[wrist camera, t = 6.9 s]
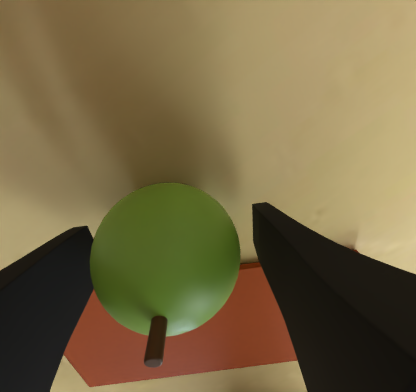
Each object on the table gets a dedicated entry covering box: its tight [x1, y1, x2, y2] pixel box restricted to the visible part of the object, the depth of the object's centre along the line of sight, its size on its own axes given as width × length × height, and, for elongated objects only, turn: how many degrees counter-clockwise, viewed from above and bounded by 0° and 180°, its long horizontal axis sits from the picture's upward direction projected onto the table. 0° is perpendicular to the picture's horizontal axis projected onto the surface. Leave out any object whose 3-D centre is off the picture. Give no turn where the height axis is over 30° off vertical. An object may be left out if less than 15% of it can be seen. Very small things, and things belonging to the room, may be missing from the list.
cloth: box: [64, 250, 359, 387], centre depth 15 cm, size 11×20×1 cm, turn 97°
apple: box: [90, 183, 240, 368], centre depth 8 cm, size 5×5×7 cm
